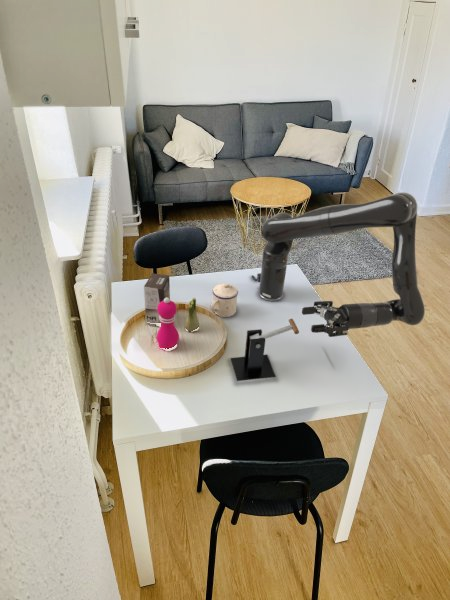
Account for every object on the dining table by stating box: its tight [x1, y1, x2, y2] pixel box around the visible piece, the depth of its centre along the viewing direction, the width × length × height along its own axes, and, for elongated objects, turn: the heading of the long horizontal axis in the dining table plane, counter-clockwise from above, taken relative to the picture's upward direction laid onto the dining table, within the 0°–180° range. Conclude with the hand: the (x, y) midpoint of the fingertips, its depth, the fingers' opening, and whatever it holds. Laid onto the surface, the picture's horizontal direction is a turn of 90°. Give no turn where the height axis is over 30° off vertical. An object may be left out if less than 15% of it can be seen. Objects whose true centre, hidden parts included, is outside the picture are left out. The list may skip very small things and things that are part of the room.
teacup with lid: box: [210, 282, 239, 318], centre depth 163 cm, size 12×9×12 cm
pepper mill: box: [156, 297, 180, 349], centre depth 143 cm, size 7×7×20 cm
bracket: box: [230, 328, 276, 382], centre depth 138 cm, size 12×10×14 cm
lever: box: [250, 318, 300, 340], centre depth 135 cm, size 14×6×2 cm, turn 100°
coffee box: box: [143, 272, 171, 327], centre depth 157 cm, size 9×6×16 cm
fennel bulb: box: [184, 297, 200, 331], centre depth 153 cm, size 6×5×12 cm
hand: (306, 319), depth 134 cm, fingers open, 8 cm apart
